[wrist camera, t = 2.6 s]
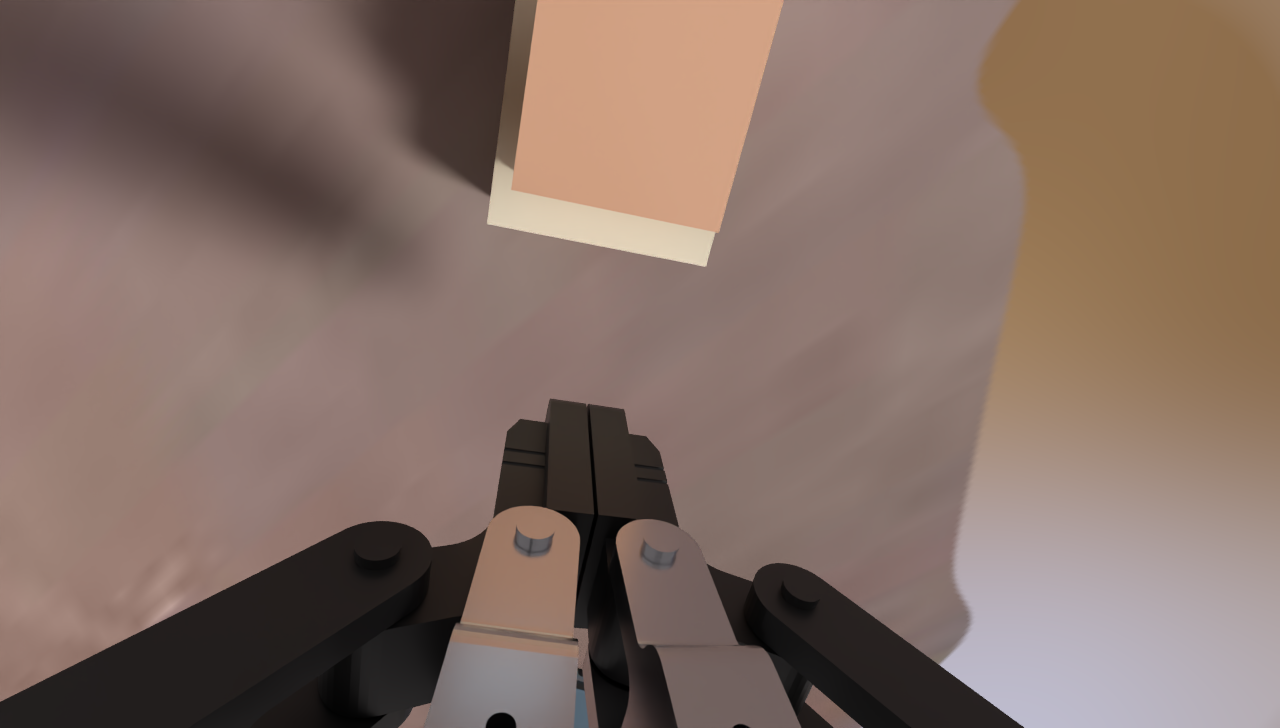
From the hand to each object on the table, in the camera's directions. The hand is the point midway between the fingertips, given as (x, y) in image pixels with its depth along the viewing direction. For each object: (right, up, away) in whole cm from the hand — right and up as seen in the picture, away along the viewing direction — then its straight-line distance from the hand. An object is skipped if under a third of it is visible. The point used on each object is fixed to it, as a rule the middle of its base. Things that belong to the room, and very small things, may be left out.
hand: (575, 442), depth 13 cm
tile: (+1, +8, 0) cm, 8 cm away
